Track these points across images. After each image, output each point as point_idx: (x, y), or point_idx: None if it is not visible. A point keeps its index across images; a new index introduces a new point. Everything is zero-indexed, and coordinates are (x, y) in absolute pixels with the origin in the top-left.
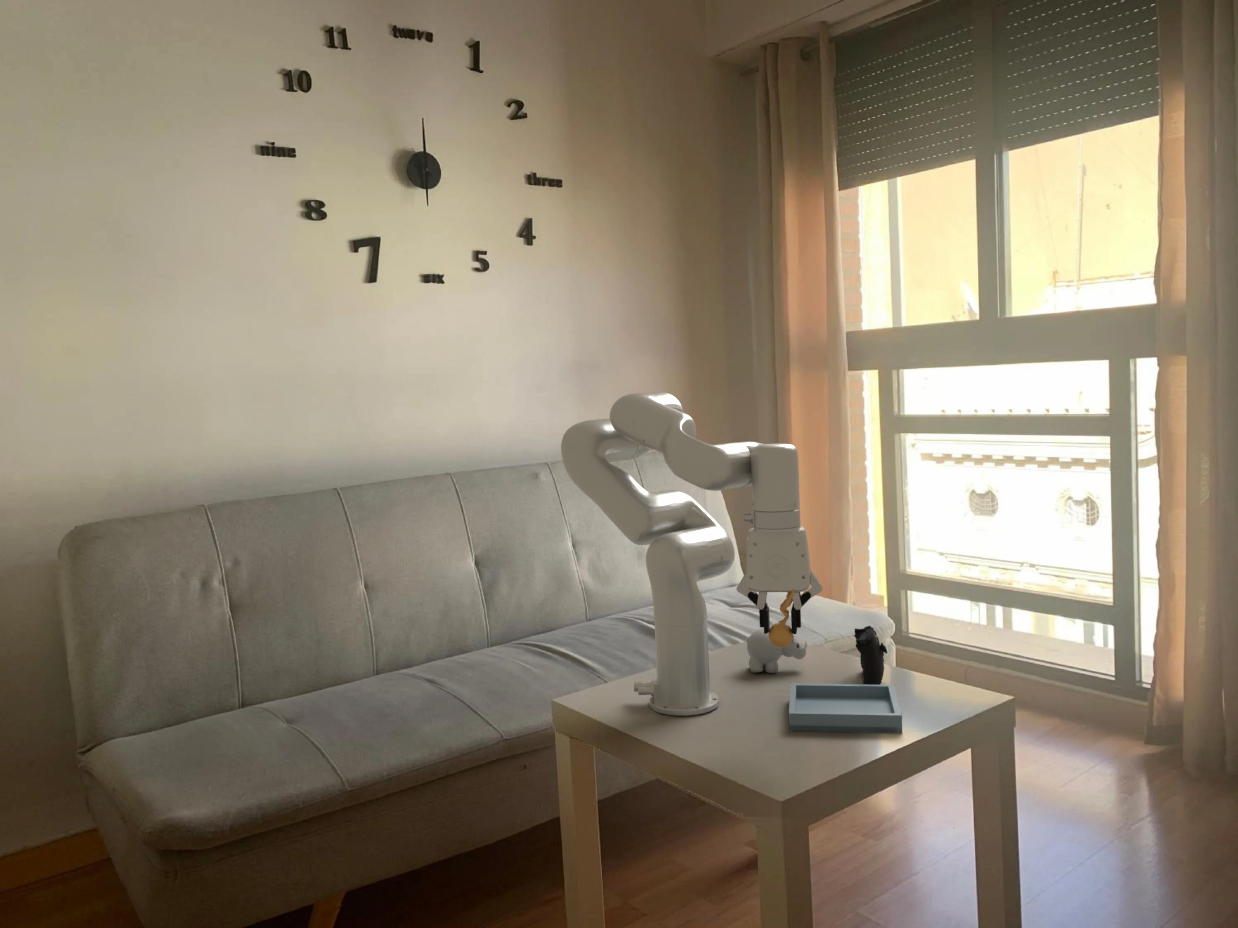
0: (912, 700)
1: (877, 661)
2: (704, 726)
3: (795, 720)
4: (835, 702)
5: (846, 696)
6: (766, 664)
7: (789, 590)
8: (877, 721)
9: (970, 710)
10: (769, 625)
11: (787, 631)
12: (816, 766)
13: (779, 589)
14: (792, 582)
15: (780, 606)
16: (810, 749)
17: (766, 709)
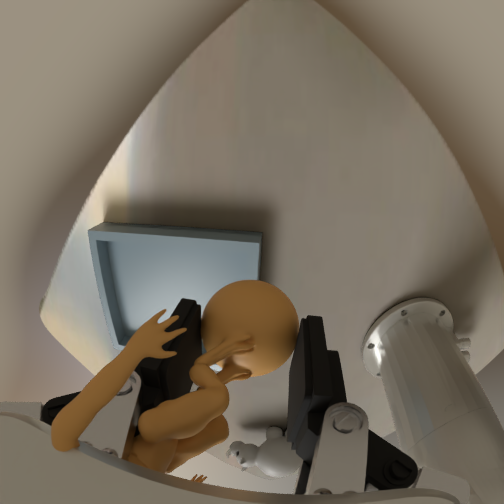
0: (106, 334)
1: None
2: (398, 257)
3: (249, 237)
4: None
5: None
6: (280, 435)
7: (92, 457)
8: (121, 228)
9: (55, 295)
10: (290, 374)
11: (216, 309)
12: (223, 78)
13: (178, 497)
14: (40, 496)
15: (228, 431)
16: (229, 147)
17: None
